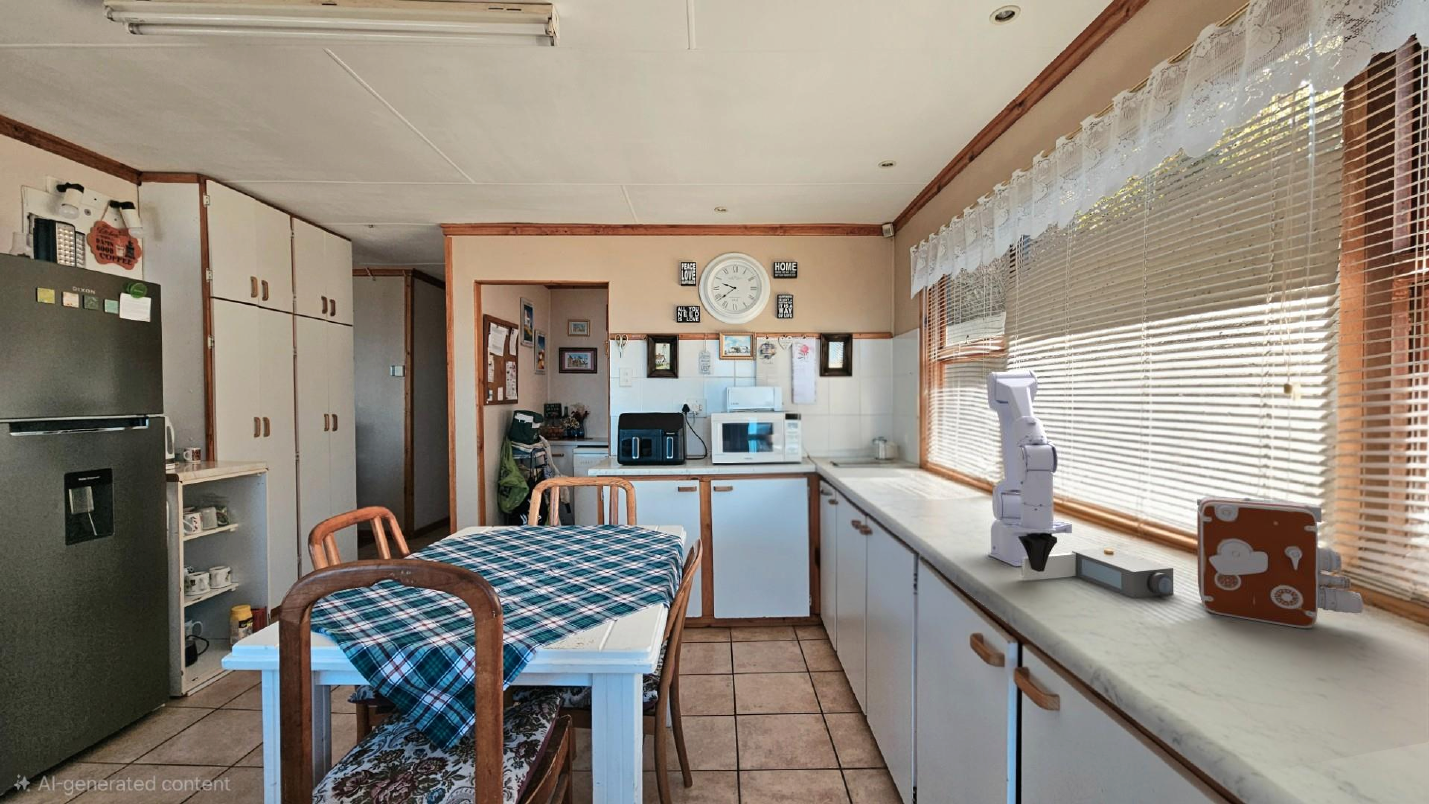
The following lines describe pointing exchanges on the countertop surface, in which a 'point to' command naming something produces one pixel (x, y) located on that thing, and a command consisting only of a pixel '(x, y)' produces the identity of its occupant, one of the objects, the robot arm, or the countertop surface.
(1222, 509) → the cine camera
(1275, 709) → the countertop surface
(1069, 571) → the side door
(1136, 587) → the camera body
